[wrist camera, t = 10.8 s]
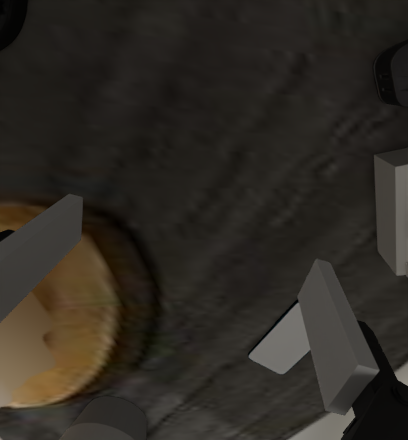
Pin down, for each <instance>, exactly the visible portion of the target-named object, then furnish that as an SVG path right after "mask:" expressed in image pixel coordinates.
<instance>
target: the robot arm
mask: <svg viewBox="0 0 408 440" xmlns="http://www.w3.org/2000/svg"><path fill="white" fill-rule="evenodd" d="M26 5H27V0H0V50H1V49H3V48H4V47H6V46H7V45H9V44H10V43H11V42H12V41H13V40H14V39H15V37H16V36H17V34H18V33H19V31H20V29H21V27H22V24H23V21H24V18H25V13H26ZM82 207H83V197H80V196H76V195H72V194H68V195H67V196H65V197H64V198H63V199H61V200H60V201H58V202H57V203H55V204H54V205H53V206H51V207H50V208H48V209H47V210H45V211H44V212H43V213H41V214H40V215H38V216H37V217H35V218H34V219H32V220H31V221H30V222H28V223H27V224H25V225H24V226H22V227H21V228H20V229H18V230H17V231H13V230H9V229H8V230H5V231H2V232H0V322H1V321H2V320H3V319H4V318H5V317H6V316H7V315H8V314H9V313H10V312H11V311H12V310H13V309H14V308H15V307H16V306H17V305H18V304H19V303H20V302H21V301H22V300H23V299H24V298H25V297H26V296H27V295H28V293H29V292H30V291H31V290H32V289H33V288H34V287H35V286H36V285H37V284H38V283H39V282H40V281H41V280H42V279H43V278H44V277H45V276H46V275H47V274H48V273H49V272H50V271H51V270H52V269H53V268H54V267H55V266H56V265H57V264H58V263H59V262H60V261H61V260H62V259H63V257H64V256H65V255H66V254H67V253H68V252H69V251H70V250H71V249H72V248H73V247H74V246H75V245H76V244H77V243H78V242H79V241H80V240H81V228H82ZM297 297H298V301H299V305H300V309H301V313H302V317H303V321H304V325H305V329H306V333H307V337H308V341H309V345H310V349H311V353H312V357H313V362H314V366H315V370H316V374H317V378H318V382H319V386H320V390H321V394H322V398H323V402H324V406H325V410H326V411H329V412H333V413H337V414H341V415H345V414H346V413H347V412H348V410H349V409H350V408H351V407H352V408H353V411H354V414H355V418H354V419H353V421H352V422H351V423H350V424H349V426H348V427H347V428H346V429H345V431H344V432H343V434H344V435H343V437H342V438H341V440H408V386H407V385H405V384H403V383H402V382H400V381H398V380H397V378H396V376H395V374H394V372H393V370H392V368H391V366H390V364H389V362H388V360H387V358H386V356H385V354H384V352H382V351H383V350H382V348H381V346H380V344H378V340H377V338H376V336H375V334H374V332H373V331H372V330H371V329H370V328H369V327H368V326H367V324H366V323H365V322H362V321H358V320H356V318H355V316H354V314H353V312H352V309H351V307H350V305H349V303H348V301H347V299H346V296H345V294H344V292H343V290H342V288H341V286H340V283H339V281H338V279H337V277H336V275H335V273H334V270H333V268H332V266H331V264H330V262H327V261H323V260H319V259H316V260H315V262H314V264H313V266H312V268H311V270H310V272H309V274H308V276H307V278H306V280H305V282H304V284H303V286H302V288H301V290H300V292H299V294H298V296H297Z"/></svg>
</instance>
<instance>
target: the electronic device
mask: <svg viewBox="0 0 408 440" xmlns="http://www.w3.org/2000/svg"><path fill="white" fill-rule="evenodd" d="M374 75H375V80H376V85H377V89H378V94H379V97H380V99H381V100H382V101H383V102H384V103H386V104H391V105H398V106H405V107H408V40H406V41H403V42H401V43H399V44H397V45H394V46H392V47H390V48H388V49H386V50H385V51H383V52H382V53H381V54H379V56H378V57H377V58H376V60H375V63H374Z"/></svg>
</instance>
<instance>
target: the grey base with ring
mask: <svg viewBox="0 0 408 440" xmlns="http://www.w3.org/2000/svg"><path fill="white" fill-rule="evenodd" d="M374 170H375V196H376V221H377V247H378V252H379V253H380V255H381V256H382V257H383V259H384V260H385V261H386V263H387V264H388V265H389V266H390V268H391V269H392V270H393V272H394V273H395V274H396V276H398V275H406V276H407V277H408V148H404V149H399V150H395V151H390V152H385V153H380V154H375V155H374Z"/></svg>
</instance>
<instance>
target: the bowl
mask: <svg viewBox="0 0 408 440" xmlns="http://www.w3.org/2000/svg"><path fill="white" fill-rule="evenodd" d="M146 434H147V419H146V417H145V415H144V413H143V412H142V411H141V410H140V409H139V408H138V407H137V406H136V405H134V404H133V403H131V402H129V401H127V400H124V399H121V398H118V397H112V396H102V397H98V398H95V399H93V400H92V401H91V402H90V403H89V404H88V405H87V406H86V408H85V409H84V410H83V411H82V413H81V414H80V415H79V416H78V418H77V419H76V420H75V421H74V422H73V424H72V425H71V426H70V427H69V429H68V430H67V431H66V432H65V433H64V434H63V436H62V437H61V438H60V439H59V440H146Z"/></svg>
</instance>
